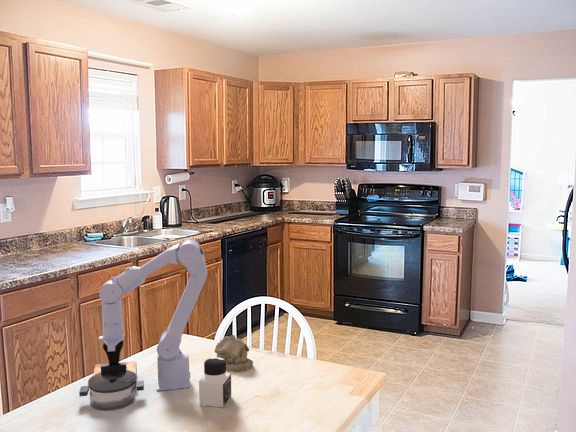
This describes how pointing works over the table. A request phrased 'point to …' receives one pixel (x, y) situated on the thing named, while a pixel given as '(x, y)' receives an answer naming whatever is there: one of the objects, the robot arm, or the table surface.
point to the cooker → (116, 398)
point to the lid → (112, 378)
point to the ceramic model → (234, 354)
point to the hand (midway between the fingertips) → (114, 366)
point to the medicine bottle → (215, 383)
